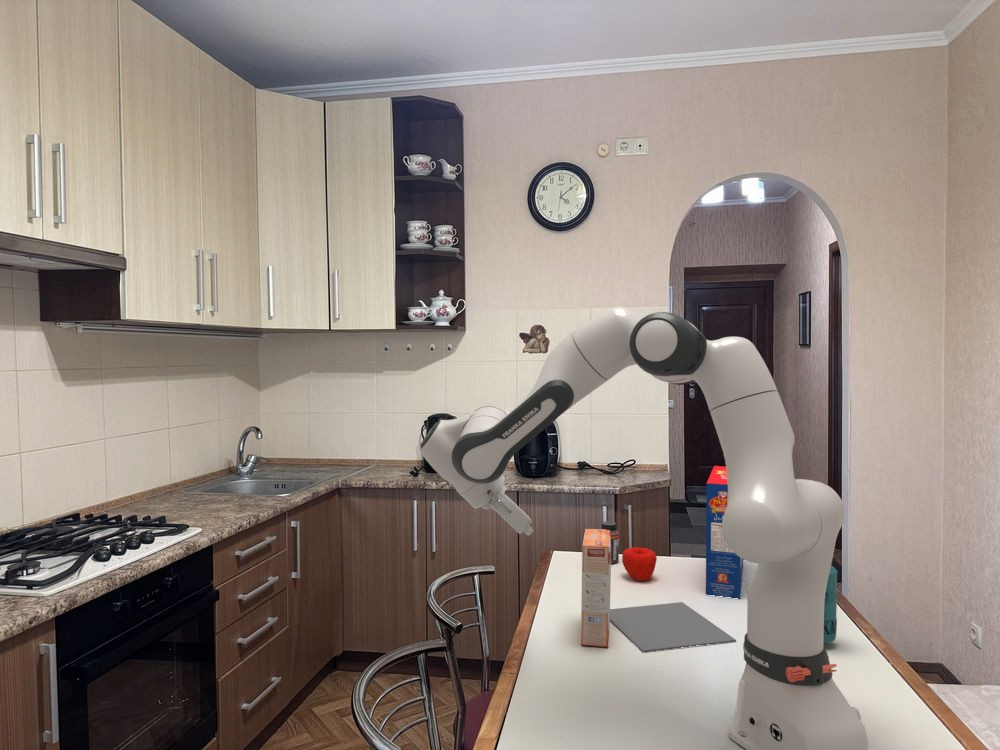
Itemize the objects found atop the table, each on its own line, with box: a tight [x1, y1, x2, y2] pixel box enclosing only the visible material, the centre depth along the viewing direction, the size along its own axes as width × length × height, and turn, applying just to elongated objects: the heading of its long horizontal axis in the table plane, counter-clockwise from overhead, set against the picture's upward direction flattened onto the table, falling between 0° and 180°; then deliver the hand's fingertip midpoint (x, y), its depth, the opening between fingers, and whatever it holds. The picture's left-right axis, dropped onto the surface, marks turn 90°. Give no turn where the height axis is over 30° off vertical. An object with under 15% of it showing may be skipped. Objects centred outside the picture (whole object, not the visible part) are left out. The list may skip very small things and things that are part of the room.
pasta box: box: [705, 465, 744, 600], centre depth 176 cm, size 28×8×28 cm, turn 158°
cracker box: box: [580, 528, 612, 648], centre depth 142 cm, size 14×6×21 cm, turn 170°
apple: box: [621, 547, 658, 582], centre depth 177 cm, size 9×9×8 cm
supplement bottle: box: [601, 520, 620, 565], centre depth 192 cm, size 6×6×11 cm
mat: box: [609, 601, 737, 653], centre depth 146 cm, size 22×21×1 cm
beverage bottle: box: [823, 564, 838, 644], centre depth 136 cm, size 6×7×20 cm
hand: (529, 531), depth 138 cm, fingers closed
